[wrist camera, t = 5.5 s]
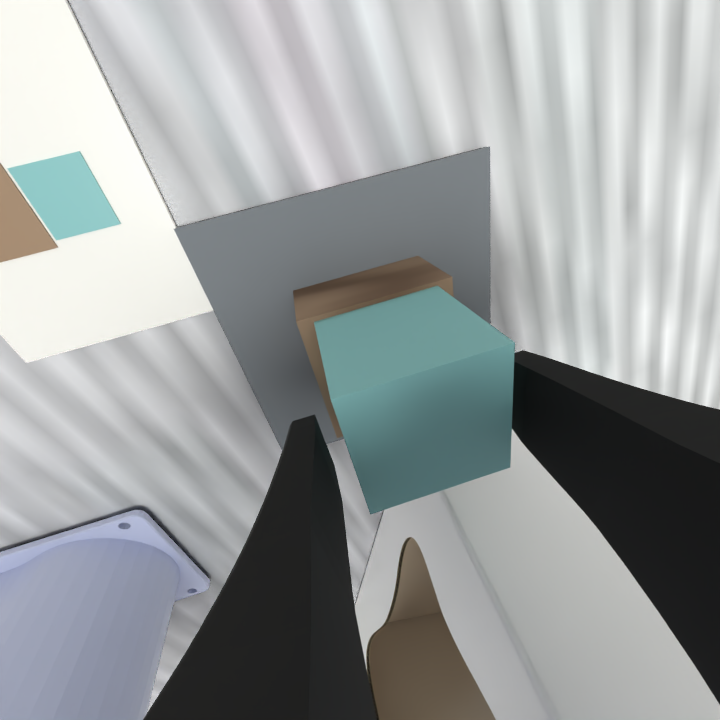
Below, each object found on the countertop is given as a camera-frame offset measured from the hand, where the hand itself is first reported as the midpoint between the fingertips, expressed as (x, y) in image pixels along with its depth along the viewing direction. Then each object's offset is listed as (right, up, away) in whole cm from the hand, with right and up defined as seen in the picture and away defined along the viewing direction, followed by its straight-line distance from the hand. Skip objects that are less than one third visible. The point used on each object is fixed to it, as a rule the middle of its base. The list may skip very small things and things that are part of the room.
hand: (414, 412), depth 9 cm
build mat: (-1, +3, +5) cm, 6 cm away
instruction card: (-11, +6, +1) cm, 13 cm away
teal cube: (-1, +2, +2) cm, 3 cm away
